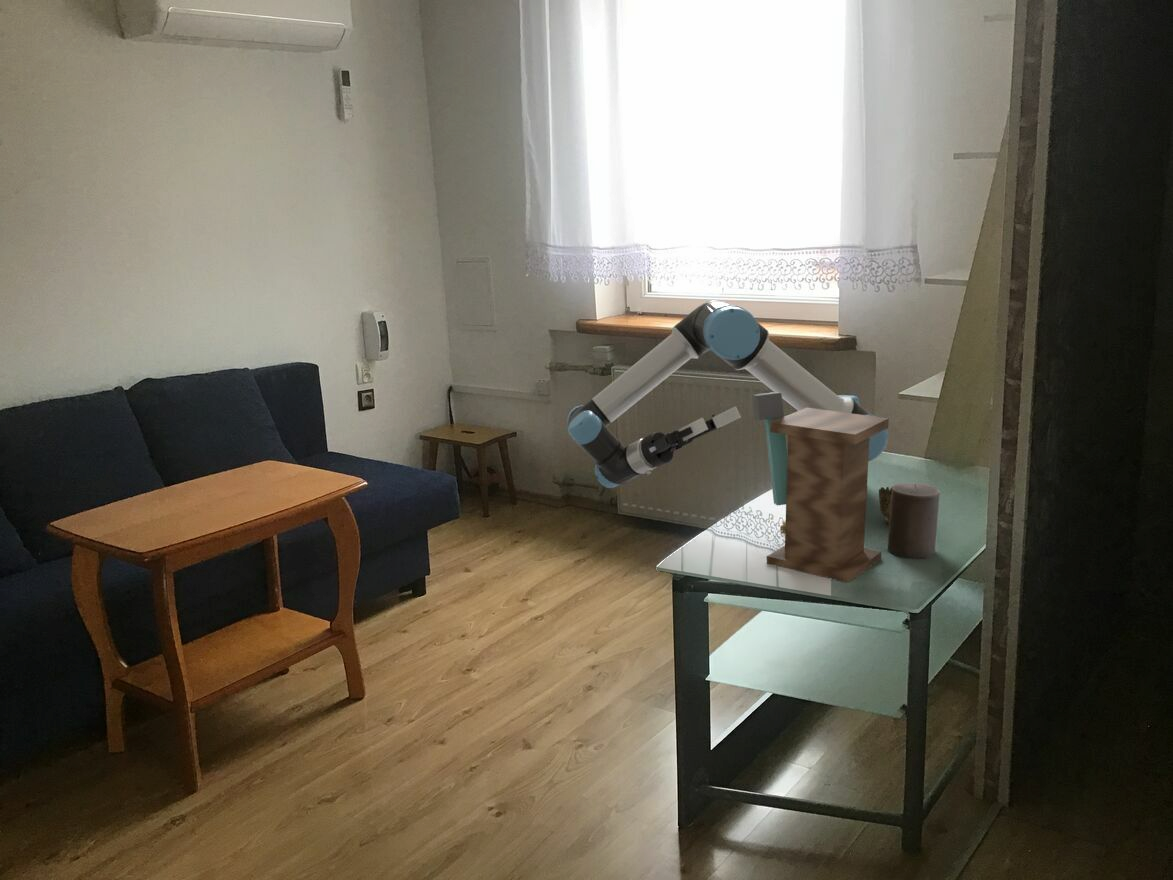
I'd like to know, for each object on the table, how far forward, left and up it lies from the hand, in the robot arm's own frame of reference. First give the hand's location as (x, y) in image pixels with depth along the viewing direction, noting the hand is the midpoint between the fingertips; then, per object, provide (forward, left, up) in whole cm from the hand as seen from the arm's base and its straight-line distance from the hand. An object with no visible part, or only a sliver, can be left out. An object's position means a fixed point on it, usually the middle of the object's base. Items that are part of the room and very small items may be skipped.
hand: (721, 417), depth 226 cm
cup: (+5, +41, -28) cm, 49 cm away
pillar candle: (+21, +35, -28) cm, 49 cm away
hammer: (+13, +8, -4) cm, 16 cm away
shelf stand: (+20, +14, -27) cm, 37 cm away
